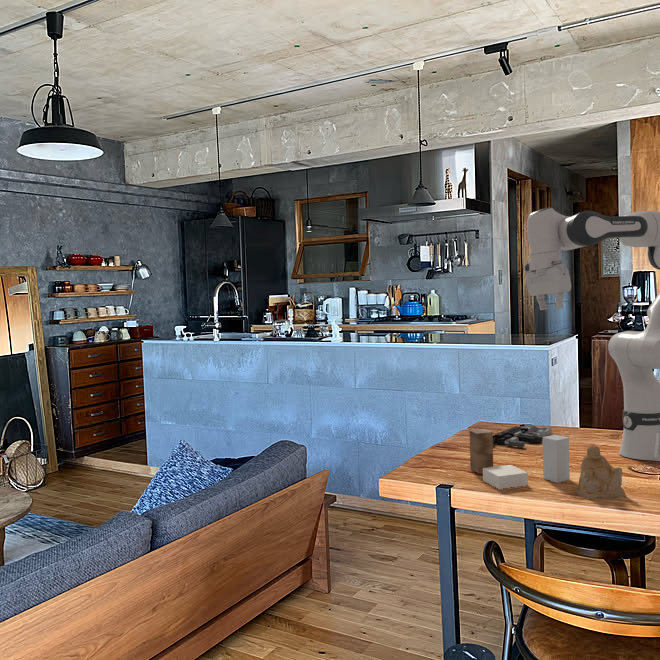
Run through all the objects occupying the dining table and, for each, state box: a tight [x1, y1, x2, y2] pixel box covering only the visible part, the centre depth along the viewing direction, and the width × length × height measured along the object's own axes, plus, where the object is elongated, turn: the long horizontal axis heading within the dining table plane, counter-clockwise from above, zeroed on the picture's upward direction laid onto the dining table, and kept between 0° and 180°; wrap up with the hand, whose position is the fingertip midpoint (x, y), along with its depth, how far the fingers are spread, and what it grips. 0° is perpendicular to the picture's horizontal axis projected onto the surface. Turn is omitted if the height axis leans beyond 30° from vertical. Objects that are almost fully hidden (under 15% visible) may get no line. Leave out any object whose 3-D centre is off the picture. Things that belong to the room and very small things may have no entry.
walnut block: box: [469, 428, 494, 474], centre depth 200 cm, size 5×5×12 cm
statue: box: [574, 444, 626, 500], centre depth 176 cm, size 12×14×10 cm
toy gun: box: [492, 424, 553, 449], centre depth 235 cm, size 4×33×15 cm
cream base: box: [482, 464, 529, 490], centre depth 187 cm, size 9×9×4 cm
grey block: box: [542, 434, 571, 484], centre depth 189 cm, size 5×5×12 cm
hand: (551, 309), depth 199 cm, fingers open, 8 cm apart
